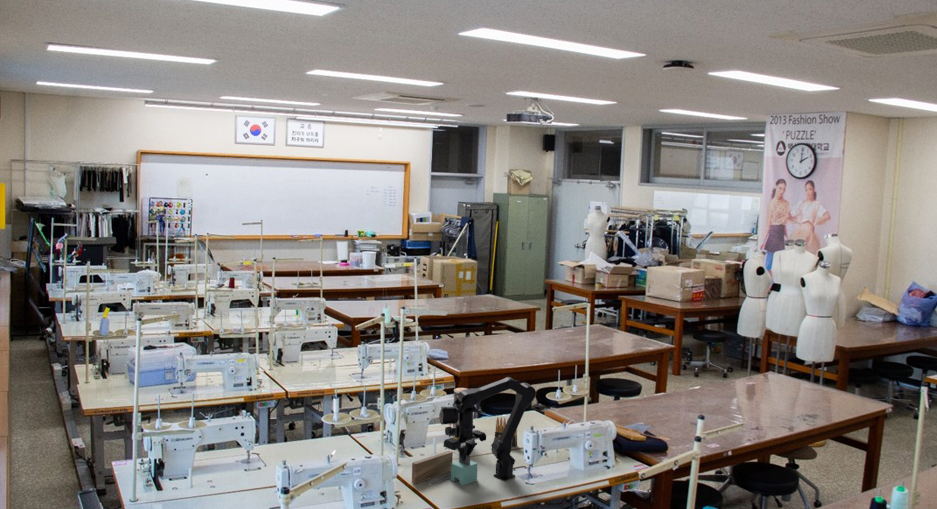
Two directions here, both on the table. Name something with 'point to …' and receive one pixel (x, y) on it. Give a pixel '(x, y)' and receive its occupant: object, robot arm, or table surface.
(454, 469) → the teal handled box
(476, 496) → the table surface
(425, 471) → the brown wooden beam
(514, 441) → the ammunition clip
